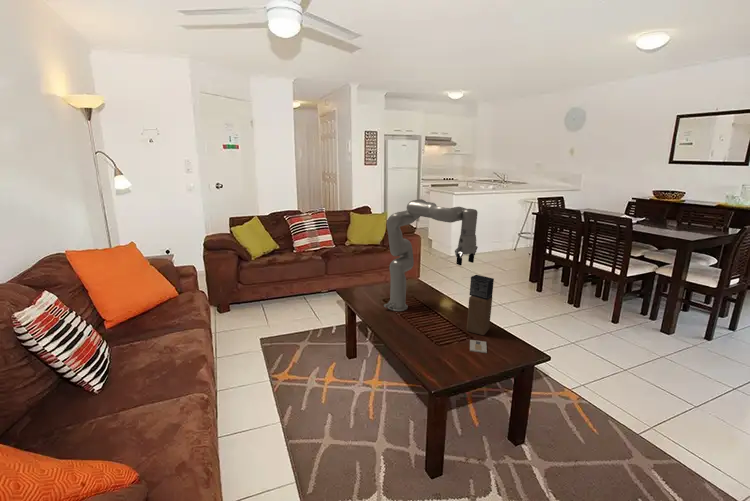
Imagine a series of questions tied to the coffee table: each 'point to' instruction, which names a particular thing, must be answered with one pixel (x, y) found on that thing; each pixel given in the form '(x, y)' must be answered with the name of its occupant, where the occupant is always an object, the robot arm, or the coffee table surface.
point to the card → (478, 346)
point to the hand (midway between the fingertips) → (464, 263)
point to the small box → (481, 287)
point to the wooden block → (479, 315)
